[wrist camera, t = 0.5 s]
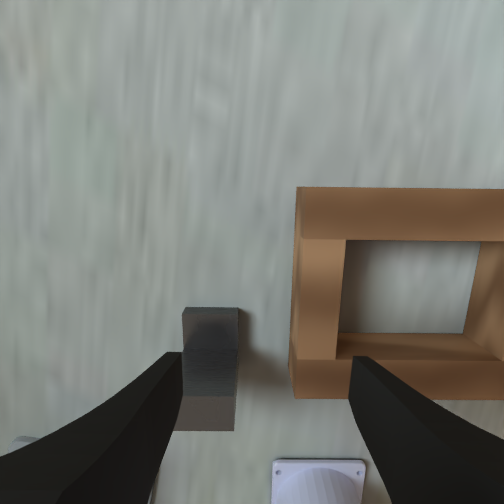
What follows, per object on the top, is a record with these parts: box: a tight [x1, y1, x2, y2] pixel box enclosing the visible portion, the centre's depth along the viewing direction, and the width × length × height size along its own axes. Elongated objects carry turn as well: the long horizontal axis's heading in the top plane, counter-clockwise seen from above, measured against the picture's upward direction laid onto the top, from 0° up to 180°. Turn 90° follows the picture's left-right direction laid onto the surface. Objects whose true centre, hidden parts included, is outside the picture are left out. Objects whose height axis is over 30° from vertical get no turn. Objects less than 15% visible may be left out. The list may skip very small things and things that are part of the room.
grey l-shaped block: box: [173, 307, 238, 431], centre depth 19 cm, size 5×4×6 cm
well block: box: [288, 187, 504, 400], centre depth 19 cm, size 14×16×4 cm
